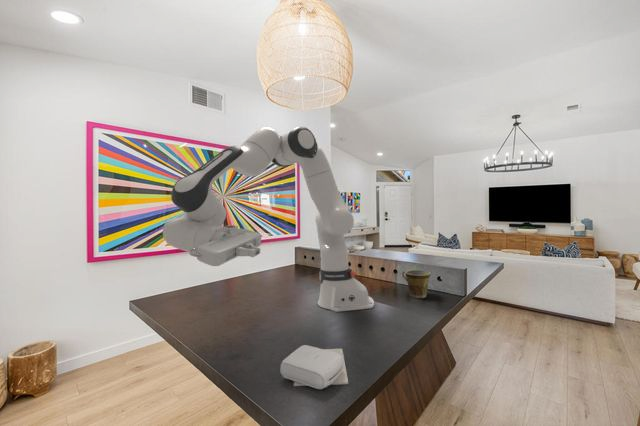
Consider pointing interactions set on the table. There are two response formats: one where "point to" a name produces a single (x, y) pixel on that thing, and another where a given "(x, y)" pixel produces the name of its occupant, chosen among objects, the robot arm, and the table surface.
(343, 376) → the mat
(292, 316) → the table surface
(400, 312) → the table surface
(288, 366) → the photo printer
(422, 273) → the ceramic cup
